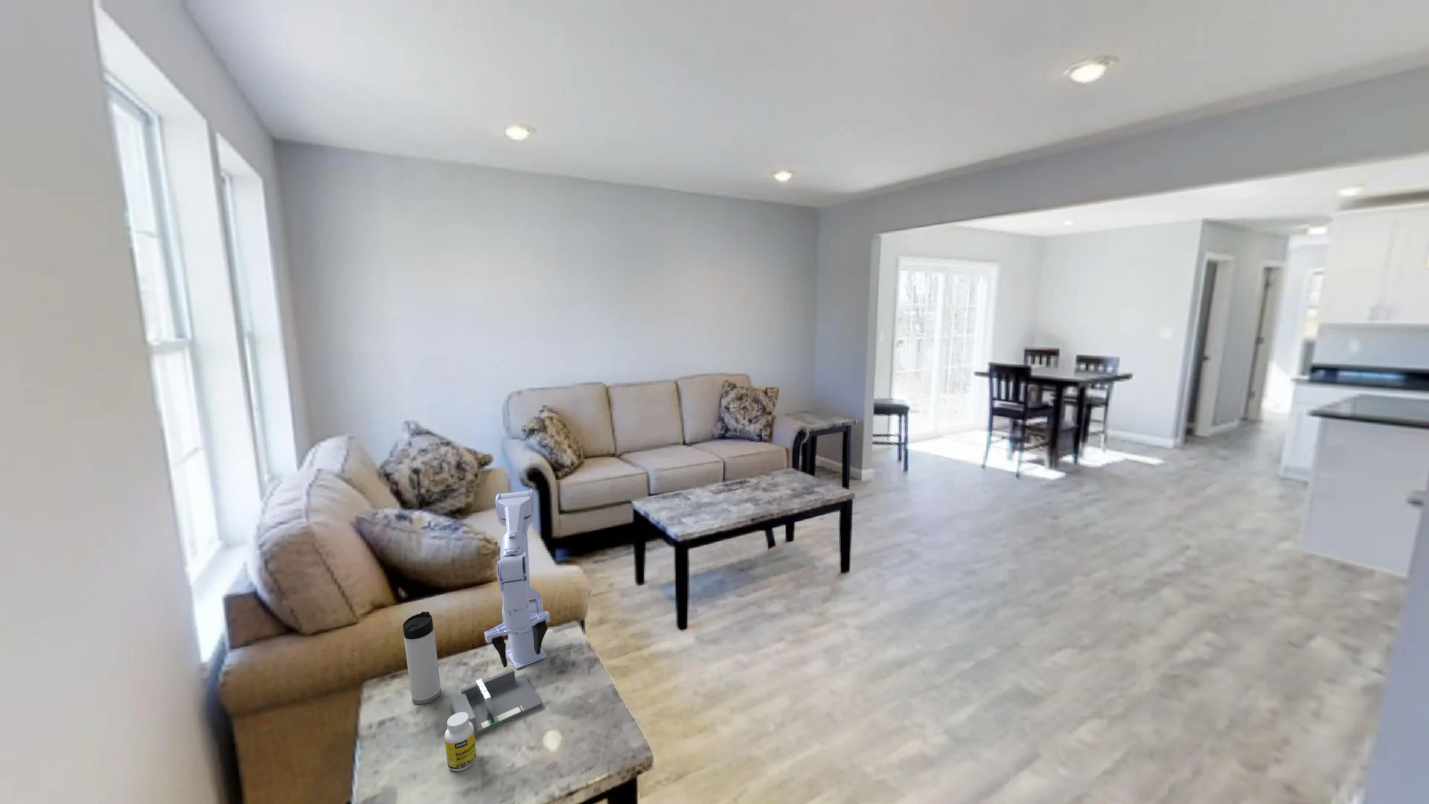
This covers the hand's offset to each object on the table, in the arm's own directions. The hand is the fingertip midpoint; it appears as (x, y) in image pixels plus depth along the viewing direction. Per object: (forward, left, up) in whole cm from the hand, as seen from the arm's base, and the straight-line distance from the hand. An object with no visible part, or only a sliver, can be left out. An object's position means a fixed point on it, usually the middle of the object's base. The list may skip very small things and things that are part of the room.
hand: (521, 658), depth 131 cm
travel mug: (-14, -19, -10) cm, 26 cm away
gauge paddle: (+2, -9, -8) cm, 12 cm away
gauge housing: (+1, -7, -9) cm, 11 cm away
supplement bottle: (+13, -17, -10) cm, 23 cm away
